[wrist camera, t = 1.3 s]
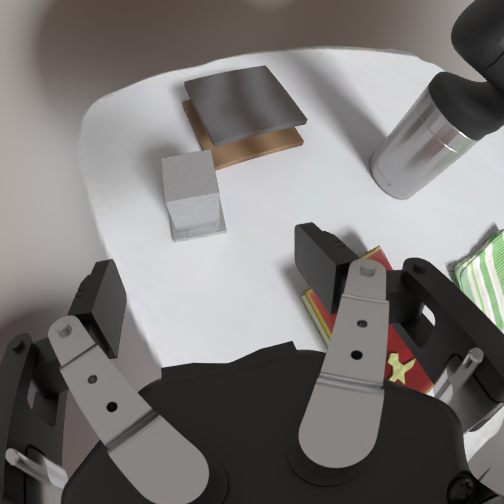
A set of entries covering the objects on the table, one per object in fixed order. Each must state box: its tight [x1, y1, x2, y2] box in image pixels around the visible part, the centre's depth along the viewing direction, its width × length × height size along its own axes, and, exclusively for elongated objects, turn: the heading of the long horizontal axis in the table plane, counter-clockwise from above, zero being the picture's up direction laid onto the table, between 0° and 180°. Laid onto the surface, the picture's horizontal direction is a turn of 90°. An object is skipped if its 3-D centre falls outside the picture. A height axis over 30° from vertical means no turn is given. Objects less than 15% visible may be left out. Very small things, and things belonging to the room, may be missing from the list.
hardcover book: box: [301, 246, 434, 394], centre depth 30 cm, size 12×21×4 cm, turn 28°
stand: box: [183, 66, 307, 170], centre depth 36 cm, size 14×14×6 cm
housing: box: [161, 149, 226, 242], centre depth 29 cm, size 6×7×9 cm
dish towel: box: [452, 229, 504, 331], centre depth 36 cm, size 18×23×3 cm
